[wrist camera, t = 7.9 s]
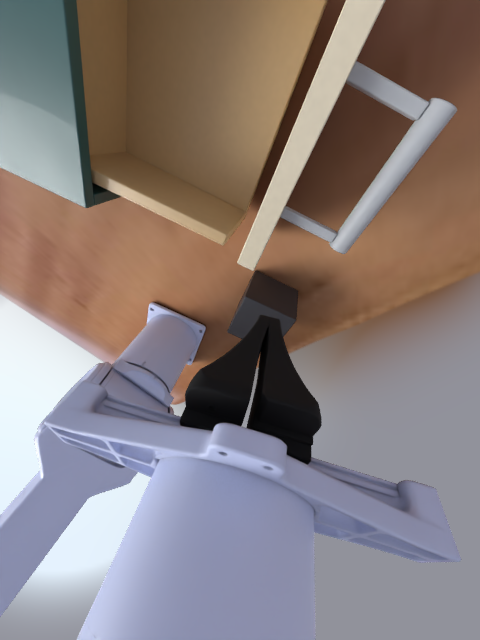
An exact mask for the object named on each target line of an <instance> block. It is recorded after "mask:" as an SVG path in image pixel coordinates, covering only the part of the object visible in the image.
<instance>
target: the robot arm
mask: <svg viewBox="0 0 480 640" xmlns="http://www.w3.org/2000/svg"><path fill="white" fill-rule="evenodd" d="M201 330H202V331H201ZM205 330H206V327H205V326H204V325H202V324H200V323H198V322H196V321H193V320H191V319H189V318H187V317H185V316H182V315H180V314H178V313H176V312H174V311H171V310H169V309H167V308H165V307H163V306H160V305H158V304H156V303H154V302H151V303H150V304H149V310H148V319H147V325H146V326H145V327H144V328H143V330H142V331H141V332H140V333H139V334H138V335H137V337H136V338H135V339H134V340H133V341H132V342H131V344H130V345H129V346H128V347H127V348H126V349H125V351H124V352H123V353H122V354H121V355H120V356H119V358H118V359H117V360H116V361H115V362H114V363H113V364H112V365H111V364H110V363H109V362H105V363H99V364H97V365H95V366H94V367H93V368H92V369H91V370H89V371H88V372H87V373H86V374H85V375H84V376H83V377H82V378H81V379H80V380H79V381H78V382H77V383H76V384H75V385H74V386H73V387H72V388H71V389H70V390H69V391H68V392H67V394H66V395H65V396H64V397H63V398H62V399H61V400H60V401H59V402H58V404H57V405H56V406H55V407H54V409H53V410H52V411H51V412H50V413H49V415H48V416H47V417H46V418H45V419H44V420H43V421H42V422H41V424H40V426H39V427H38V431H37V433H36V435H35V438H34V441H35V447H36V451H37V456H38V460H39V465H40V471H39V472H38V473H37V474H36V475H35V476H34V478H33V479H32V480H31V481H30V482H29V483H28V484H27V485H26V487H25V488H24V489H23V490H22V491H21V492H20V493H19V495H18V496H17V497H16V498H15V499H14V500H13V501H12V502H11V504H10V505H9V506H8V507H7V508H6V509H5V510H4V512H3V513H2V514H1V515H0V617H1V615H2V614H3V613H4V611H5V610H6V609H7V607H8V606H9V604H10V603H11V602H12V601H13V599H14V598H15V597H16V595H17V594H18V592H19V591H20V590H21V588H22V587H23V586H24V584H25V583H26V582H27V580H28V579H29V577H30V576H31V575H32V573H33V572H34V571H35V570H36V568H37V567H38V565H39V564H40V563H41V561H42V560H43V559H44V557H45V556H46V555H47V553H48V552H49V551H50V549H51V548H52V547H53V545H54V544H55V542H56V541H57V540H58V538H59V537H60V536H61V534H62V533H63V532H64V530H65V529H66V528H67V526H68V525H69V524H70V522H71V521H72V520H73V518H74V517H75V515H76V514H77V513H78V511H79V510H80V509H81V507H82V506H83V505H84V503H85V502H86V501H87V499H88V498H90V497H92V496H94V495H96V494H99V493H102V492H105V491H109V490H112V489H115V488H118V487H121V486H123V485H126V484H128V483H130V482H131V480H132V479H133V477H134V476H135V475H136V474H137V472H140V473H142V474H144V475H147V476H149V477H151V479H150V481H149V484H148V486H147V488H146V490H145V492H144V495H143V497H142V499H141V501H140V503H139V505H138V507H137V510H136V512H135V514H134V516H133V518H132V520H131V523H130V525H129V527H128V529H127V531H126V534H125V536H124V538H123V540H122V542H121V544H120V547H119V549H118V551H117V553H116V555H115V558H114V560H113V562H112V564H111V566H110V568H109V571H108V573H107V575H106V577H105V579H104V582H103V584H102V586H101V588H100V590H99V592H98V594H97V597H96V599H95V601H94V603H93V605H92V608H91V610H90V612H89V614H88V616H87V618H86V620H85V623H84V625H83V627H82V629H81V631H80V633H79V636H78V638H77V640H316V639H315V564H314V532H315V533H318V534H322V535H326V536H329V537H334V538H337V539H341V540H344V541H348V542H352V543H356V544H359V545H363V546H367V547H371V548H374V549H378V550H381V551H384V552H388V553H391V554H394V555H398V556H401V557H404V558H407V559H410V560H413V561H416V562H419V563H426V562H460V561H461V558H460V555H459V552H458V549H457V546H456V544H455V541H454V538H453V535H452V532H451V530H450V527H449V524H448V521H447V519H446V516H445V513H444V511H443V507H442V505H441V502H440V499H439V496H438V494H437V491H436V489H435V488H434V487H431V486H428V485H424V484H421V483H418V482H415V481H410V480H404V481H401V482H399V483H398V484H396V483H392V482H389V481H386V480H383V479H380V478H376V477H373V476H370V475H367V474H363V473H360V472H357V471H354V470H350V469H347V468H344V467H340V466H337V465H334V464H331V463H328V462H325V461H322V460H318V459H315V458H312V457H311V445H313V435H314V434H315V433H316V432H317V431H318V430H319V429H320V427H321V414H320V409H319V404H318V402H317V401H316V400H315V398H314V397H313V396H312V395H311V393H310V392H309V391H308V389H307V388H306V386H305V385H304V383H303V382H302V380H301V378H300V377H299V375H298V373H297V372H296V370H295V368H294V366H293V364H292V361H291V359H290V357H289V354H288V351H287V349H286V346H285V342H284V339H283V335H282V330H281V323H280V320H279V319H277V318H273V317H269V316H265V315H259V317H258V319H257V321H256V323H255V324H254V326H253V327H252V328H251V330H250V331H249V332H248V333H247V335H246V336H245V337H244V338H243V339H242V340H241V341H240V342H239V343H238V344H237V345H236V346H235V347H234V348H232V349H231V350H230V351H229V352H227V353H226V354H225V355H223V356H222V357H220V358H219V359H217V360H216V361H214V362H213V363H211V364H209V365H207V366H205V367H204V368H202V369H200V370H199V371H198V373H197V374H196V375H195V376H194V378H193V379H192V381H191V382H190V384H189V386H188V388H187V390H186V393H185V400H186V407H185V410H184V412H183V414H182V416H181V417H179V416H176V415H174V411H173V409H172V407H170V404H171V402H172V401H173V399H174V398H173V397H172V396H171V395H170V393H171V391H172V389H173V387H174V385H175V383H176V381H177V380H178V378H179V376H180V374H181V372H182V370H183V368H184V367H185V365H186V364H188V365H191V364H192V363H193V360H194V357H195V355H196V352H197V350H198V347H199V345H200V342H201V340H202V337H203V335H204V332H205ZM260 352H261V353H260ZM259 355H260V361H259V370H258V379H257V384H256V389H255V393H254V398H253V402H252V407H251V411H250V415H249V420H248V424H247V428H244V427H241V425H242V423H243V419H244V417H245V413H246V410H247V407H248V404H249V401H250V397H251V392H252V387H253V381H254V376H255V371H256V366H257V361H258V358H259Z"/></svg>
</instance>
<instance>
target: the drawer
mask: <svg viewBox="0 0 480 640" xmlns="http://www.w3.org/2000/svg"><path fill="white" fill-rule="evenodd" d="M385 1H386V0H346V1H345V4H344V6H343V9H342V11H341V13H340V16H339V18H338V21H337V23H336V25H335V28H334V30H333V33H332V35H331V38H330V40H329V42H328V45H327V47H326V50H325V52H324V54H323V57H322V59H321V62H320V64H319V67H318V69H317V71H316V74H315V76H314V79H313V81H312V83H311V86H310V88H309V91H308V93H307V96H306V98H305V100H304V103H303V105H302V108H301V110H300V112H299V115H298V117H297V120H296V122H295V124H294V127H293V129H292V132H291V134H290V137H289V139H288V141H287V144H286V146H285V149H284V151H283V153H282V156H281V158H280V161H279V163H278V166H277V168H276V170H275V173H274V175H273V178H272V180H271V182H270V185H269V187H268V190H267V192H266V194H265V197H264V199H263V202H262V204H261V207H260V209H259V211H258V214H257V216H256V219H255V221H254V223H253V226H252V228H251V231H250V233H249V236H248V238H247V240H246V243H245V245H244V248H243V250H242V252H241V255H240V257H239V260H238V262H237V263H238V264H240V265H242V266H244V267H246V268H248V269H250V270H252V271H254V269H255V267H256V265H257V263H258V261H259V259H260V257H261V255H262V253H263V251H264V249H265V247H266V245H267V242H268V240H269V238H270V236H271V234H272V232H273V230H274V228H275V226H276V224H277V222H278V220H279V218H280V217H281V218H283V219H285V220H287V221H289V222H291V223H293V224H295V225H297V226H299V227H300V228H302V229H304V230H306V231H308V232H310V233H312V234H314V235H316V236H318V237H320V238H322V239H324V240H326V241H328V242H330V246H331V247H332V248H333V249H334V250H336V251H337V252H339V253H342V254H345V253H347V251H348V250H349V249H350V248H351V246H352V245H353V244H354V242H355V241H356V240H357V239H358V237H359V236H360V235H361V233H362V232H363V231H364V230H365V228H366V227H367V226H368V224H369V223H370V222H371V221H372V219H373V218H374V217H375V216H376V214H377V213H378V212H379V210H380V209H381V208H382V207H383V205H384V204H385V203H386V201H387V200H388V199H389V198H390V196H391V195H392V194H393V192H394V191H395V190H396V189H397V187H398V186H399V185H400V183H401V182H402V181H403V180H404V178H405V177H406V176H407V175H408V173H409V172H410V171H411V169H412V168H413V167H414V166H415V164H416V163H417V162H418V160H419V159H420V158H421V157H422V155H423V154H424V153H425V151H426V150H427V149H428V148H429V146H430V145H431V144H432V142H433V141H434V140H435V139H436V137H437V136H438V135H439V134H440V132H441V131H442V130H443V128H444V127H445V126H446V125H447V123H448V122H449V121H450V119H451V118H452V117H453V116H454V114H455V113H456V112H457V108H456V107H455V106H454V105H453V104H452V103H450V102H448V101H446V100H444V99H440V98H431V99H430V100H429V102H428V101H426V100H424V99H423V98H421V97H419V96H417V95H416V94H414V93H412V92H410V91H408V90H407V89H405V88H403V87H401V86H400V85H398V84H396V83H394V82H393V81H391V80H389V79H387V78H386V77H384V76H382V75H380V74H379V73H377V72H375V71H373V70H372V69H370V68H368V67H366V66H365V65H363V64H361V63H359V62H358V61H356V60H357V58H358V56H359V54H360V52H361V50H362V48H363V46H364V44H365V42H366V40H367V38H368V35H369V33H370V31H371V29H372V27H373V25H374V23H375V21H376V19H377V17H378V15H379V13H380V11H381V9H382V7H383V5H384V3H385ZM327 2H328V0H77V11H78V23H79V35H80V47H81V58H82V70H83V82H84V93H85V105H86V117H87V129H88V140H89V152H90V164H91V176H92V183H94V184H96V185H99V186H101V187H103V188H105V189H107V190H109V191H111V192H113V193H115V194H117V195H119V196H121V197H123V198H125V199H127V200H130V201H132V202H134V203H136V204H138V205H140V206H142V207H144V208H146V209H148V210H150V211H152V212H154V213H156V214H159V215H161V216H163V217H165V218H167V219H169V220H171V221H173V222H175V223H177V224H179V225H181V226H183V227H185V228H187V229H190V230H192V231H194V232H196V233H198V234H200V235H202V236H204V237H206V238H208V239H210V240H212V241H214V242H216V243H219V244H221V245H225V243H226V242H227V241H228V239H229V238H230V237H231V236H232V234H233V233H234V232H235V230H236V229H237V228H238V226H239V225H240V224H241V223H242V221H243V220H244V219H245V217H246V214H247V212H248V209H249V206H250V204H251V201H252V199H253V196H254V193H255V191H256V188H257V185H258V183H259V180H260V178H261V175H262V172H263V170H264V167H265V164H266V162H267V159H268V157H269V154H270V151H271V149H272V146H273V144H274V141H275V138H276V136H277V133H278V130H279V128H280V125H281V123H282V120H283V117H284V115H285V112H286V109H287V107H288V104H289V102H290V99H291V96H292V94H293V91H294V88H295V86H296V83H297V81H298V78H299V75H300V73H301V70H302V67H303V65H304V62H305V60H306V57H307V54H308V52H309V49H310V46H311V44H312V41H313V39H314V36H315V33H316V31H317V28H318V25H319V23H320V20H321V18H322V15H323V12H324V10H325V7H326V4H327ZM345 83H346V84H348V85H350V86H352V87H353V88H355V89H357V90H359V91H361V92H362V93H364V94H366V95H368V96H370V97H371V98H373V99H375V100H377V101H378V102H380V103H382V104H384V105H386V106H387V107H389V108H391V109H393V110H395V111H396V112H398V113H400V114H402V115H403V116H405V117H407V118H409V119H411V120H415V122H414V123H413V124H412V126H411V127H410V129H409V130H408V132H407V133H406V134H405V136H404V137H403V139H402V140H401V142H400V143H399V144H398V146H397V147H396V149H395V150H394V152H393V153H392V155H391V156H390V157H389V159H388V160H387V162H386V163H385V165H384V166H383V167H382V169H381V170H380V172H379V173H378V175H377V176H376V177H375V179H374V180H373V182H372V183H371V185H370V186H369V187H368V189H367V190H366V192H365V193H364V195H363V196H362V197H361V199H360V200H359V202H358V203H357V205H356V206H355V207H354V209H353V210H352V212H351V213H350V215H349V216H348V218H347V219H346V220H345V222H344V223H343V225H342V226H341V228H340V229H339V230H338V232H336V231H335V230H333V229H331V228H329V227H327V226H325V225H323V224H321V223H319V222H317V221H315V220H313V219H311V218H309V217H307V216H305V215H303V214H301V213H299V212H297V211H295V210H293V209H291V208H289V207H287V206H286V204H287V201H288V199H289V197H290V195H291V193H292V191H293V189H294V187H295V185H296V183H297V181H298V179H299V177H300V175H301V173H302V171H303V169H304V167H305V165H306V163H307V161H308V158H309V156H310V154H311V152H312V150H313V148H314V146H315V144H316V142H317V140H318V138H319V136H320V134H321V132H322V130H323V128H324V126H325V124H326V122H327V120H328V117H329V115H330V113H331V111H332V109H333V107H334V105H335V103H336V101H337V99H338V97H339V95H340V93H341V91H342V89H343V87H344V85H345Z"/></svg>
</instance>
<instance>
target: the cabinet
mask: <svg viewBox="0 0 480 640" xmlns="http://www.w3.org/2000/svg"><path fill="white" fill-rule="evenodd" d="M0 168H2V169H5V170H7V171H9V172H11V173H13V174H15V175H17V176H19V177H21V178H23V179H26V180H28V181H30V182H32V183H34V184H36V185H38V186H40V187H42V188H45V189H47V190H49V191H51V192H53V193H55V194H57V195H59V196H61V197H64V198H66V199H68V200H70V201H72V202H74V203H76V204H78V205H80V206H83V207H85V208H89V207H92V206H94V205H97V204H100V203H104V202H107V201H110V200H113V199H116V198H119V197H121V196H119V195H117V194H115V193H113V192H111V191H109V190H107V189H105V188H103V187H101V186H99V185H96V184H94V183H92V176H91V164H90V152H89V140H88V129H87V117H86V105H85V93H84V82H83V70H82V58H81V47H80V35H79V23H78V11H77V0H0Z"/></svg>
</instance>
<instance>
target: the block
mask: <svg viewBox="0 0 480 640" xmlns="http://www.w3.org/2000/svg"><path fill="white" fill-rule="evenodd" d="M297 302H298V290H296V289H294V288H292V287H290V286H287V285H285V284H283V283H281V282H279V281H277V280H275V279H273V278H271V277H269V276H267V275H265V274H262V273H260V272H258V271H255V272H254V274H253V276H252V278H251V280H250V282H249V284H248V286H247V288H246V290H245V292H244V294H243V296H242V298H241V300H240V302H239V305H238V307H237V309H236V312H235V314H234V317H233V319H232V321H231V324H230V326H229V329H228V331H227V332H228V333H230V334H232V335H235V336H237V337H239V338H241V339H243V338H244V337H245V336H246V335H247V333H248V332H249V331H250V330H251V328H252V327H253V326H254V324H255V323H256V321H257V319H258V317H259V315H265V316H269V317H273V318H277V319H279V320H280V323H281V330H282V335H283V336H284V335H285V334H286V333H287V331H288V330H289V329H290V328H291V326H292V325H293V324H294V323H295V321H296V317H297Z"/></svg>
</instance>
